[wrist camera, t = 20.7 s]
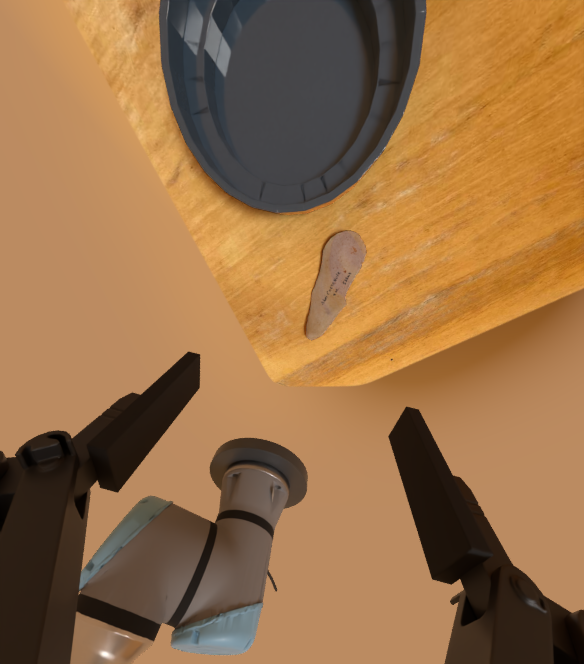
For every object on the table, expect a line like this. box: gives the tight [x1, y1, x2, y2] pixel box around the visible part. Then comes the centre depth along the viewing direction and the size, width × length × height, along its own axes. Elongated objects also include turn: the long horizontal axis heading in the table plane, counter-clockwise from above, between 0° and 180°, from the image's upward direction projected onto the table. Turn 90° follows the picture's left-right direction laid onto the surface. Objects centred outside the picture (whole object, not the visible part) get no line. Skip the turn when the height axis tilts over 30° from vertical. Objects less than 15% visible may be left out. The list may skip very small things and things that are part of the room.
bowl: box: [159, 0, 426, 215], centre depth 19 cm, size 20×20×5 cm
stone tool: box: [306, 231, 366, 340], centre depth 29 cm, size 5×2×15 cm
